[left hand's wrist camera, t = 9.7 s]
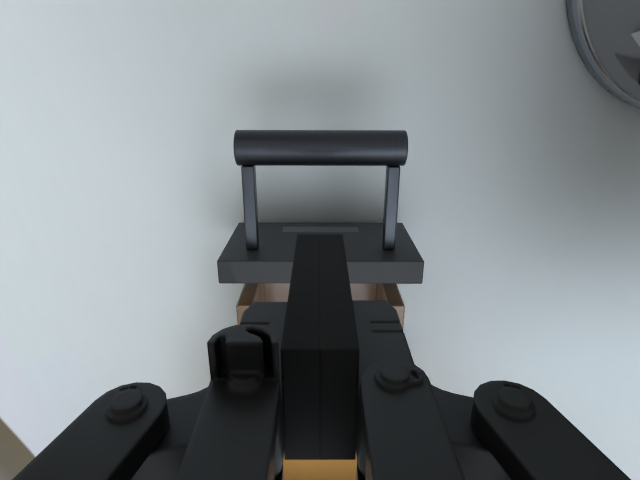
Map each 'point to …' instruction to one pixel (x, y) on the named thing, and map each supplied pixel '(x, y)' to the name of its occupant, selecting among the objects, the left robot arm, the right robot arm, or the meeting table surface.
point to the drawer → (359, 238)
